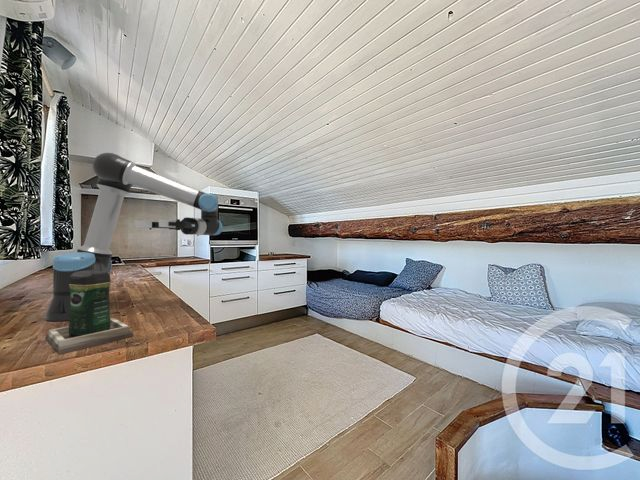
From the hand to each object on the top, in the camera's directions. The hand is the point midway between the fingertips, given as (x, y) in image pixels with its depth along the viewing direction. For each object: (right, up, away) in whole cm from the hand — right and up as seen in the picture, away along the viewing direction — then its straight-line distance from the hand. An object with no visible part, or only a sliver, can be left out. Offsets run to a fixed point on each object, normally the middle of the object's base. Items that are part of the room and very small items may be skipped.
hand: (146, 223), depth 103 cm
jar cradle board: (-2, -35, -23) cm, 42 cm away
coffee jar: (-2, -34, -23) cm, 41 cm away
